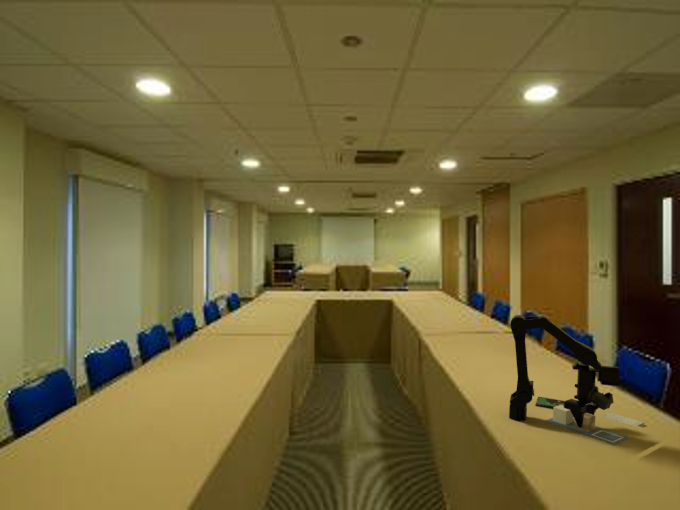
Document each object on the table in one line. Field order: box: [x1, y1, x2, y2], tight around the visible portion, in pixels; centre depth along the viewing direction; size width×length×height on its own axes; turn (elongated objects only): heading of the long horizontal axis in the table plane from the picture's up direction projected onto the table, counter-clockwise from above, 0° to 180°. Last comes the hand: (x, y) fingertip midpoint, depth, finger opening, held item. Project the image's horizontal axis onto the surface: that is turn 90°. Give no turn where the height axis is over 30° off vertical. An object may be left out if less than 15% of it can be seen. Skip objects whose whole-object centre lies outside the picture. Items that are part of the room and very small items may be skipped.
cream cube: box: [552, 405, 574, 425], centre depth 178 cm, size 5×5×5 cm
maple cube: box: [573, 413, 596, 432], centre depth 171 cm, size 5×5×5 cm
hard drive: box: [601, 412, 645, 427], centre depth 182 cm, size 2×8×12 cm
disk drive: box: [534, 396, 566, 410], centre depth 195 cm, size 10×3×15 cm
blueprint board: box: [544, 417, 632, 447], centre depth 171 cm, size 12×25×1 cm, turn 35°
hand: (584, 425), depth 171 cm, fingers open, 6 cm apart
